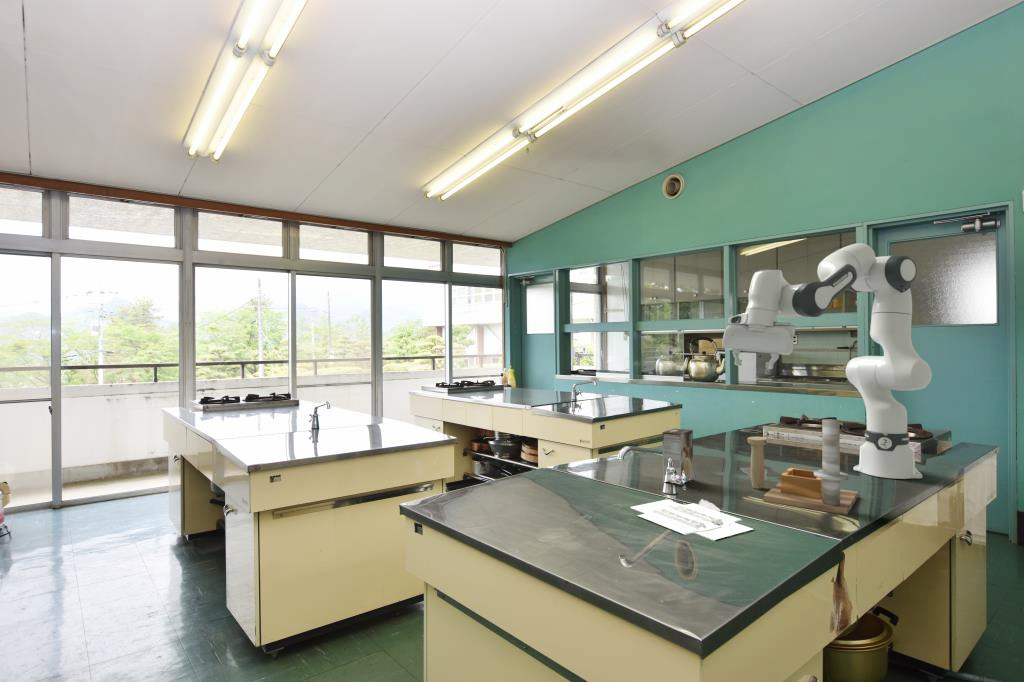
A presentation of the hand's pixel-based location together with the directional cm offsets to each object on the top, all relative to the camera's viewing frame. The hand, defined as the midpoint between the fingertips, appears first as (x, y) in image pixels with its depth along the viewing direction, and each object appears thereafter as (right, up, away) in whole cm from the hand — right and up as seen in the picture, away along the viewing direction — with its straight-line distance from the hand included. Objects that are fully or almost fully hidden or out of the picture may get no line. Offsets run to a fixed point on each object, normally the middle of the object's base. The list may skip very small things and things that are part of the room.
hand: (752, 366), depth 162 cm
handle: (+3, -37, +3) cm, 37 cm away
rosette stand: (+13, -37, -9) cm, 40 cm away
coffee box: (-19, -37, +12) cm, 43 cm away
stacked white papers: (-27, -38, -24) cm, 53 cm away
